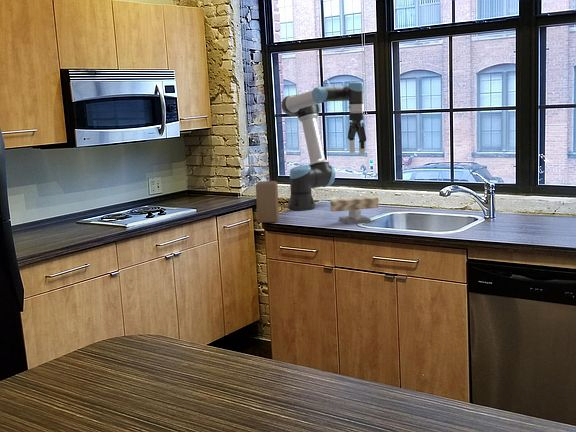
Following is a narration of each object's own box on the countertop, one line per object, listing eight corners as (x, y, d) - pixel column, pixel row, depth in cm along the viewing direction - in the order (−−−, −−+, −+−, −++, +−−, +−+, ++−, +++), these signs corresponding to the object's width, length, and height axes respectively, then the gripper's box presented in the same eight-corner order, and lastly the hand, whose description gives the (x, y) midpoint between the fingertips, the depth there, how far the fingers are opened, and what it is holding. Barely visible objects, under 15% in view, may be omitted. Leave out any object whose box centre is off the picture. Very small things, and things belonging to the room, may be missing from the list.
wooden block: (279, 218, 348) (277, 180, 344) (276, 222, 338) (275, 183, 335) (259, 219, 349) (258, 181, 345) (257, 223, 339) (255, 184, 336)
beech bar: (333, 211, 330) (333, 201, 329) (330, 210, 334) (330, 200, 333) (378, 207, 336) (378, 197, 335) (375, 206, 340) (375, 196, 339)
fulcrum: (339, 219, 340) (339, 208, 339) (361, 217, 344) (361, 206, 342) (347, 224, 329) (347, 212, 328) (370, 222, 332) (370, 210, 331)
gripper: (341, 112, 354) (341, 152, 358) (358, 113, 331) (359, 156, 335) (354, 111, 356) (354, 151, 360) (372, 112, 333) (373, 155, 337)
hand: (357, 153), depth 347 cm, fingers open, 13 cm apart
